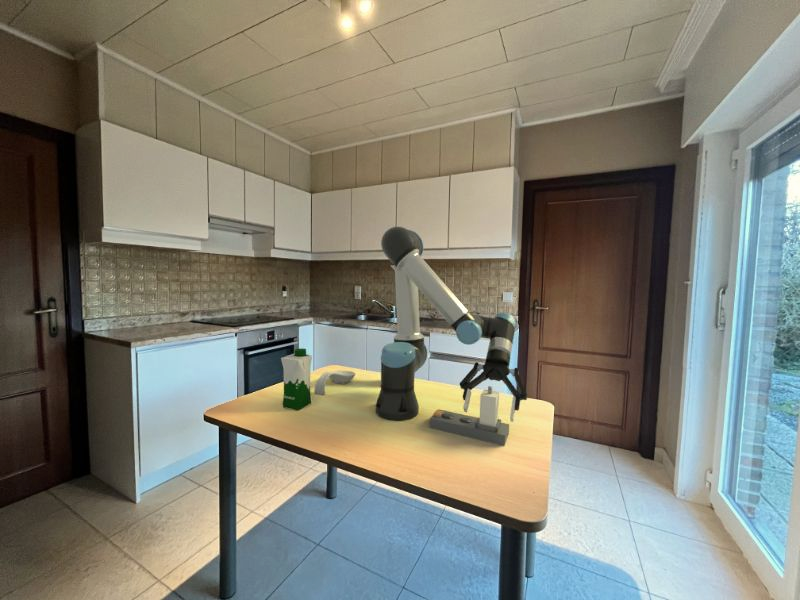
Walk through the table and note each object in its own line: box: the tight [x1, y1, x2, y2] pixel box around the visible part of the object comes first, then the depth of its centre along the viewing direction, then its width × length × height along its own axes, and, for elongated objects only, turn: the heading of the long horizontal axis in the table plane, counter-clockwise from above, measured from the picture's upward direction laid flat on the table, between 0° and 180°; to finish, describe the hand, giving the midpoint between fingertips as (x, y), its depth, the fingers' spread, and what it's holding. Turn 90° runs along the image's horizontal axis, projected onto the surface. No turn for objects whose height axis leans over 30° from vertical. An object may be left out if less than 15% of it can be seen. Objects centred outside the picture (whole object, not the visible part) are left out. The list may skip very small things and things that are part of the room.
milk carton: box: [280, 348, 313, 411], centre depth 120 cm, size 9×9×20 cm
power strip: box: [429, 409, 510, 446], centre depth 104 cm, size 23×8×4 cm, turn 64°
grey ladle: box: [313, 369, 356, 396], centre depth 142 cm, size 24×12×7 cm, turn 161°
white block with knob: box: [479, 386, 500, 427], centre depth 101 cm, size 4×5×12 cm
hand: (487, 415), depth 99 cm, fingers open, 13 cm apart
